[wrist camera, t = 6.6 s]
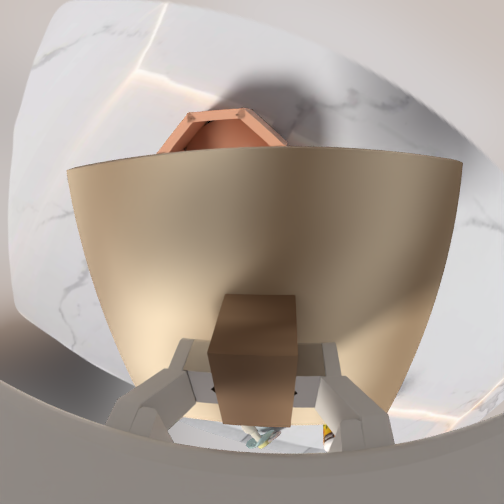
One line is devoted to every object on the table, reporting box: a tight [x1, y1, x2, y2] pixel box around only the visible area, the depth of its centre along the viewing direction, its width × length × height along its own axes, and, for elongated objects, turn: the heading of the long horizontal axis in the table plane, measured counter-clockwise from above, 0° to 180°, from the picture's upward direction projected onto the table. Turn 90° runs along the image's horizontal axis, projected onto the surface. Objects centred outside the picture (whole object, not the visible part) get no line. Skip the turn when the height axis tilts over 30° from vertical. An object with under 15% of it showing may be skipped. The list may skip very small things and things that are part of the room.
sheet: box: [67, 146, 463, 427], centre depth 10 cm, size 14×14×4 cm
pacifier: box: [242, 426, 281, 449], centre depth 46 cm, size 7×6×6 cm
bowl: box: [157, 107, 287, 154], centre depth 25 cm, size 11×11×5 cm
